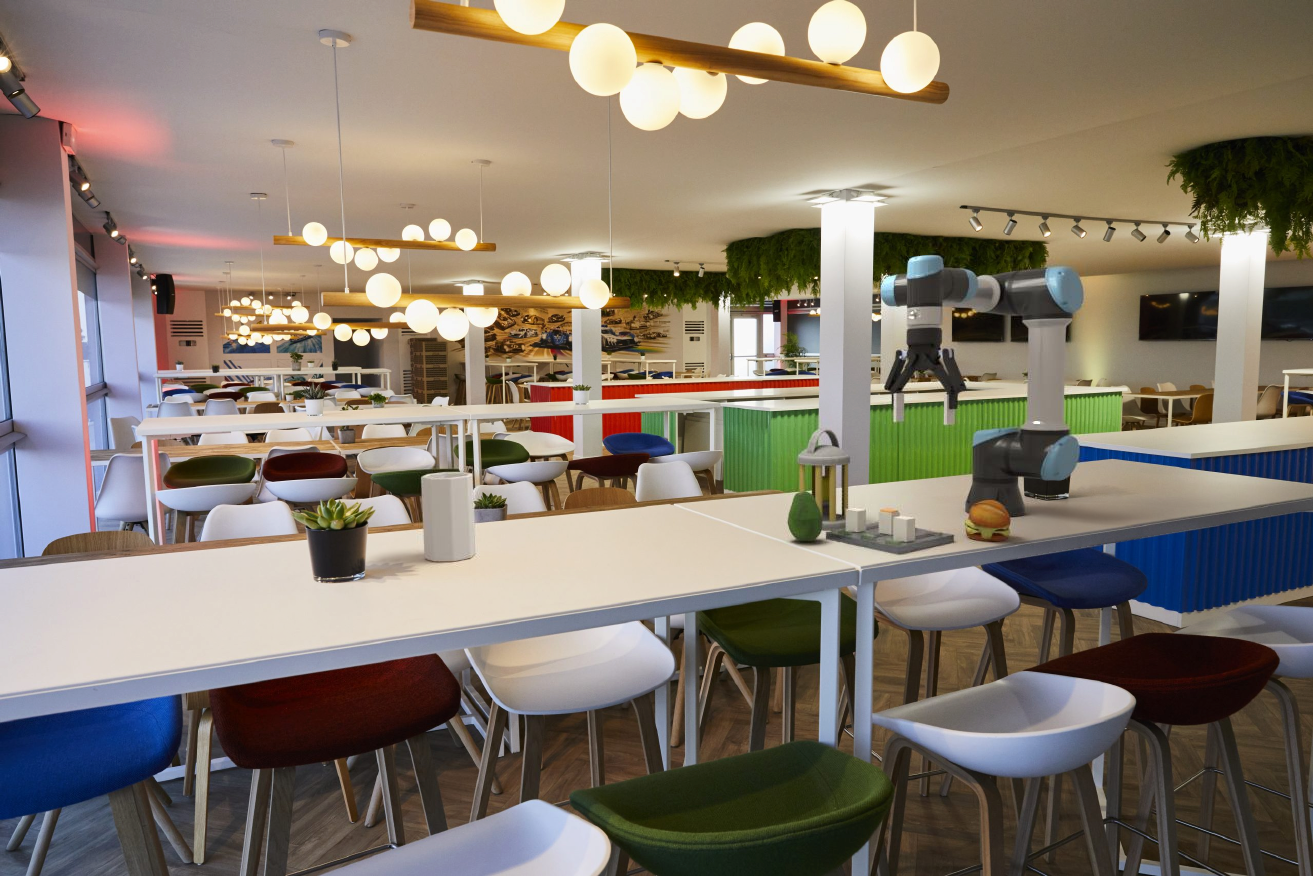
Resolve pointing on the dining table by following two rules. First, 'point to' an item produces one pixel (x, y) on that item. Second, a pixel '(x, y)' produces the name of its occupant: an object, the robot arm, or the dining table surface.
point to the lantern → (826, 478)
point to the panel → (889, 539)
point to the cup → (448, 516)
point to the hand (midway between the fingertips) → (923, 423)
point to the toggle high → (904, 528)
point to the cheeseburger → (988, 521)
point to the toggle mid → (887, 520)
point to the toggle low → (856, 519)
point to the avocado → (805, 517)
